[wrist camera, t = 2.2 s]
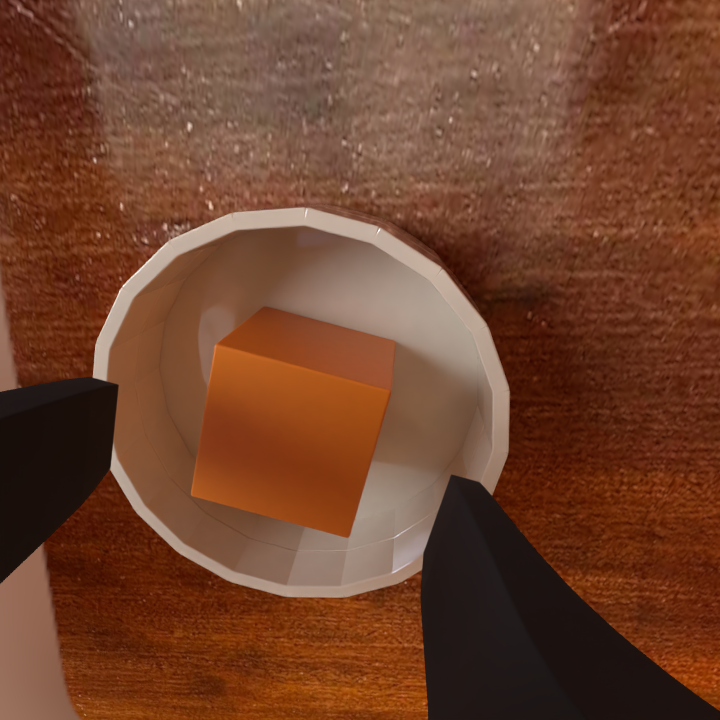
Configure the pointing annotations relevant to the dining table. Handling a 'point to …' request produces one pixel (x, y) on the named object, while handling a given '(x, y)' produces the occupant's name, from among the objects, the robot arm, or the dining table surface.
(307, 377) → the block
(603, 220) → the dining table surface
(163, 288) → the bowl
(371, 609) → the dining table surface
